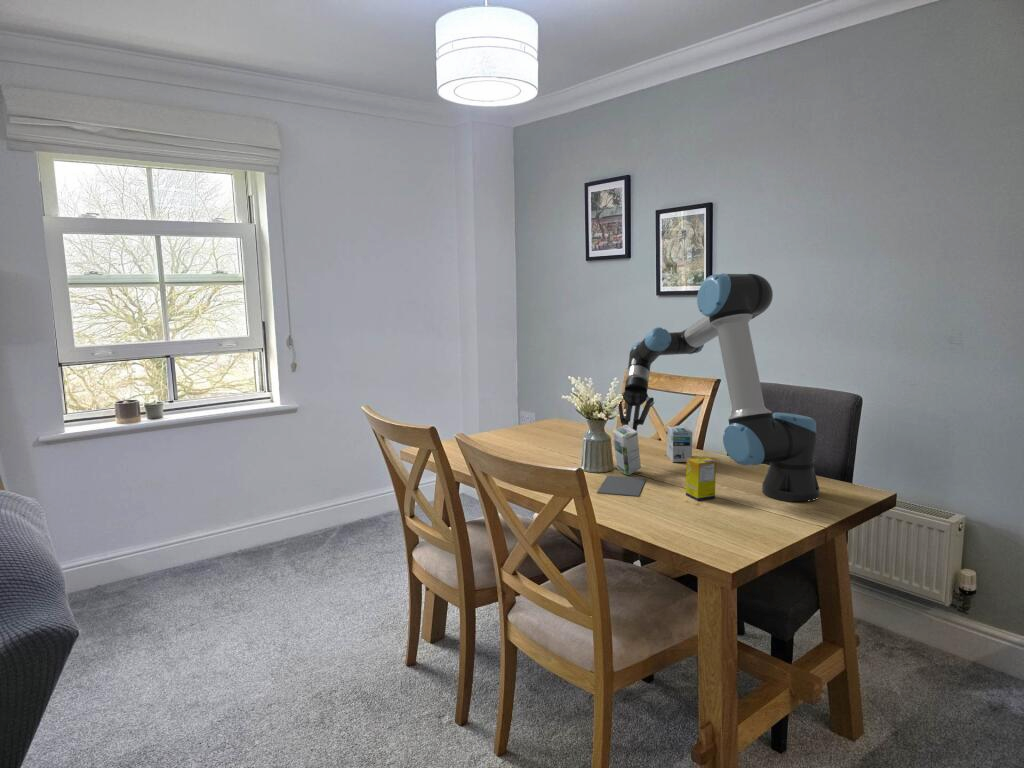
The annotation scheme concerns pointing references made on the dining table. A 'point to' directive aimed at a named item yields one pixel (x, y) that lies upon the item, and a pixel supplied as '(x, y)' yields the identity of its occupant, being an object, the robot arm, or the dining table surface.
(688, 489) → the supplement box
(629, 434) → the syrup box
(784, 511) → the dining table surface
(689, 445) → the light bulb box
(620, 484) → the mat
